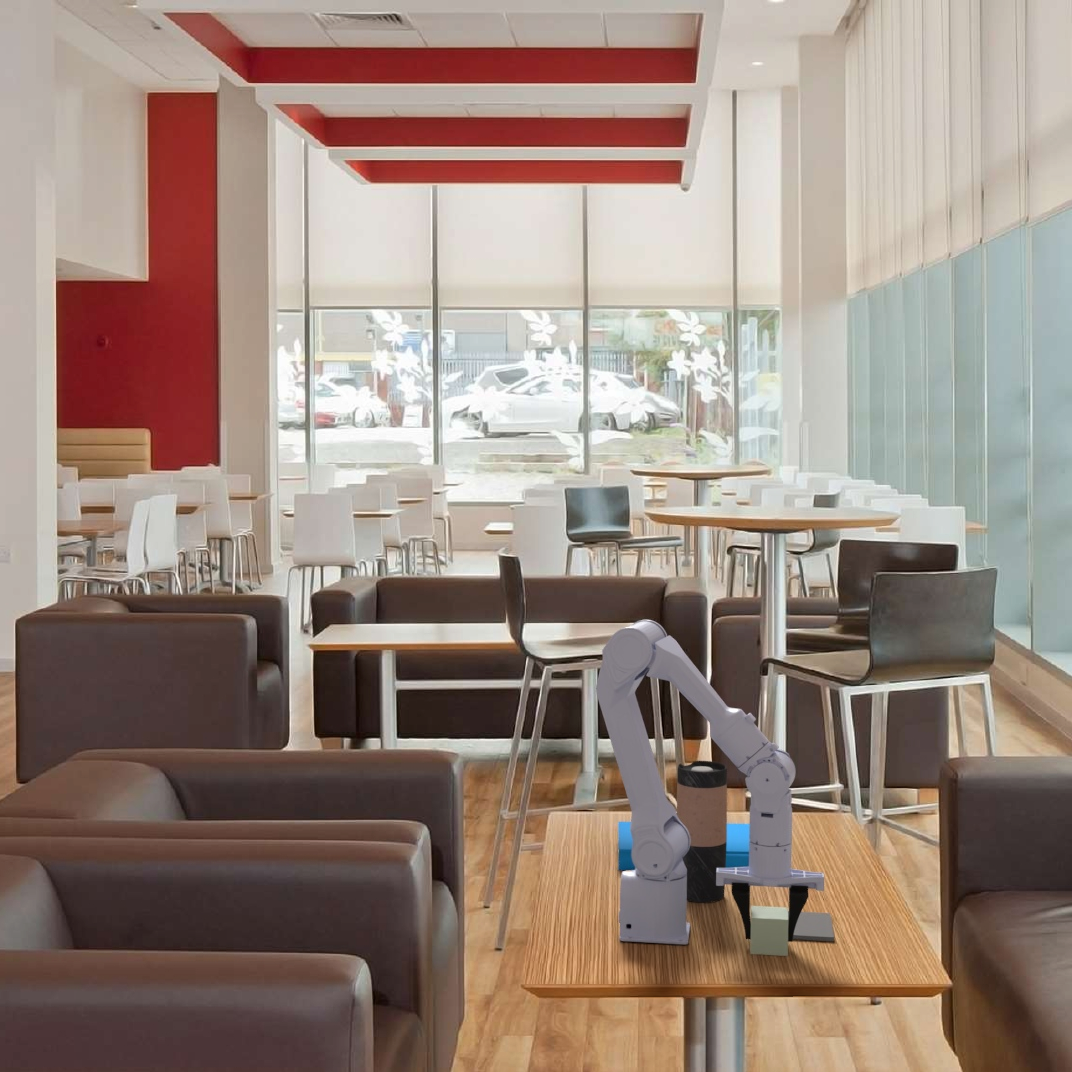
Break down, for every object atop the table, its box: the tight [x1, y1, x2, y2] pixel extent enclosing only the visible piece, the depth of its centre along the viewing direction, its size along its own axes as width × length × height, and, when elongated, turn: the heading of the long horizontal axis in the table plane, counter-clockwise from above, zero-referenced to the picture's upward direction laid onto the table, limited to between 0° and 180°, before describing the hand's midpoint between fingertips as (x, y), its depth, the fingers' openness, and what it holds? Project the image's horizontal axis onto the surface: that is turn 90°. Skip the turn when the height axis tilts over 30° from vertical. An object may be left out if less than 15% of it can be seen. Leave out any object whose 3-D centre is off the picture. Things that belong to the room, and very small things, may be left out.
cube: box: [749, 905, 789, 957], centre depth 195 cm, size 5×5×5 cm
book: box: [617, 821, 750, 871], centre depth 237 cm, size 17×4×25 cm
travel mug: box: [676, 760, 728, 904], centre depth 217 cm, size 8×8×20 cm
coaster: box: [788, 910, 835, 942], centre depth 204 cm, size 10×10×1 cm
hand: (768, 938), depth 196 cm, fingers closed on cube, 5 cm apart
